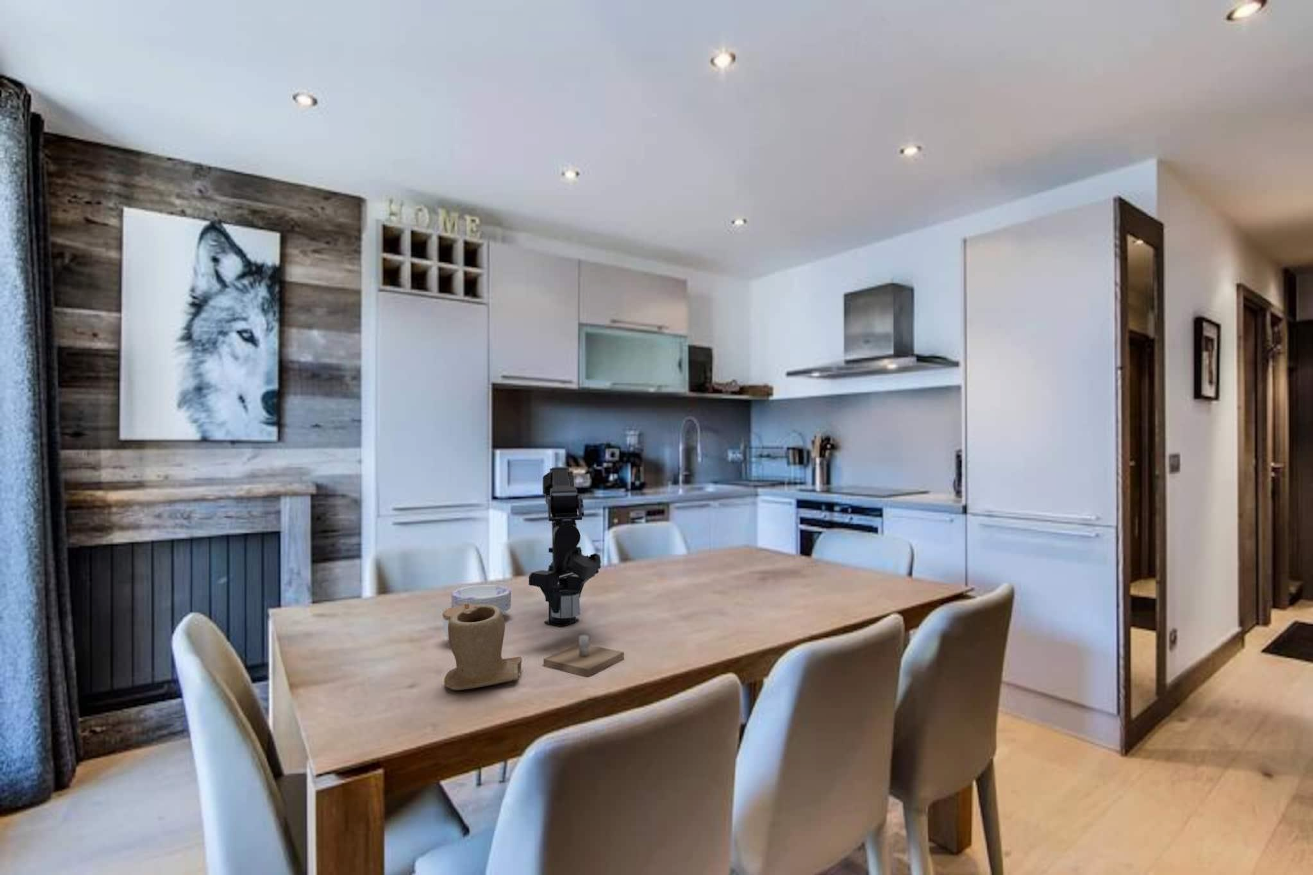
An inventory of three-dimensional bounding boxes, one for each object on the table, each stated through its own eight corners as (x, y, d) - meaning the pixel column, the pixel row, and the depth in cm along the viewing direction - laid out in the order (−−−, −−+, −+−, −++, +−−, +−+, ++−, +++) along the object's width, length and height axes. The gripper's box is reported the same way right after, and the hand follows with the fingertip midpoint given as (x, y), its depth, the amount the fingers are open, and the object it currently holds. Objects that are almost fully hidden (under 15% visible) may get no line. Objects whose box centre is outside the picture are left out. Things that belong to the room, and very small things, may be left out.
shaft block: (543, 665, 131) (543, 639, 131) (580, 649, 141) (580, 625, 141) (588, 677, 124) (587, 649, 124) (623, 658, 135) (623, 633, 135)
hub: (546, 615, 146) (545, 594, 146) (564, 609, 152) (564, 588, 152) (566, 619, 143) (566, 597, 143) (584, 612, 148) (584, 591, 148)
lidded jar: (499, 638, 150) (499, 599, 150) (472, 652, 140) (472, 610, 140) (462, 634, 154) (461, 596, 154) (433, 648, 143) (432, 607, 144)
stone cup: (445, 701, 114) (444, 619, 114) (443, 678, 125) (443, 603, 125) (529, 689, 119) (528, 610, 119) (521, 668, 130) (520, 596, 130)
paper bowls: (523, 617, 168) (522, 587, 168) (479, 632, 155) (479, 600, 155) (483, 609, 176) (483, 581, 176) (439, 623, 164) (438, 592, 164)
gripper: (564, 552, 135) (564, 624, 135) (615, 540, 151) (616, 605, 151) (526, 548, 141) (527, 617, 141) (580, 537, 157) (580, 599, 157)
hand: (565, 609), depth 147 cm, fingers closed on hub, 6 cm apart
